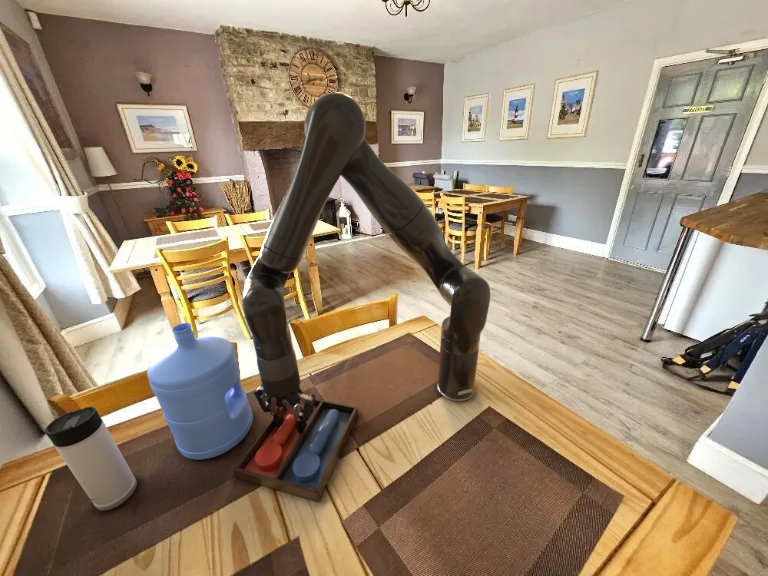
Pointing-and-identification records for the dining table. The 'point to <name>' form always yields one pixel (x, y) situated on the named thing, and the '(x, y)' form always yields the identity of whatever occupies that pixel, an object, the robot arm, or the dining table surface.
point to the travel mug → (92, 457)
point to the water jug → (201, 394)
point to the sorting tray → (300, 452)
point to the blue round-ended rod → (315, 450)
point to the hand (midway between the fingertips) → (290, 426)
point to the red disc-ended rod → (275, 446)
